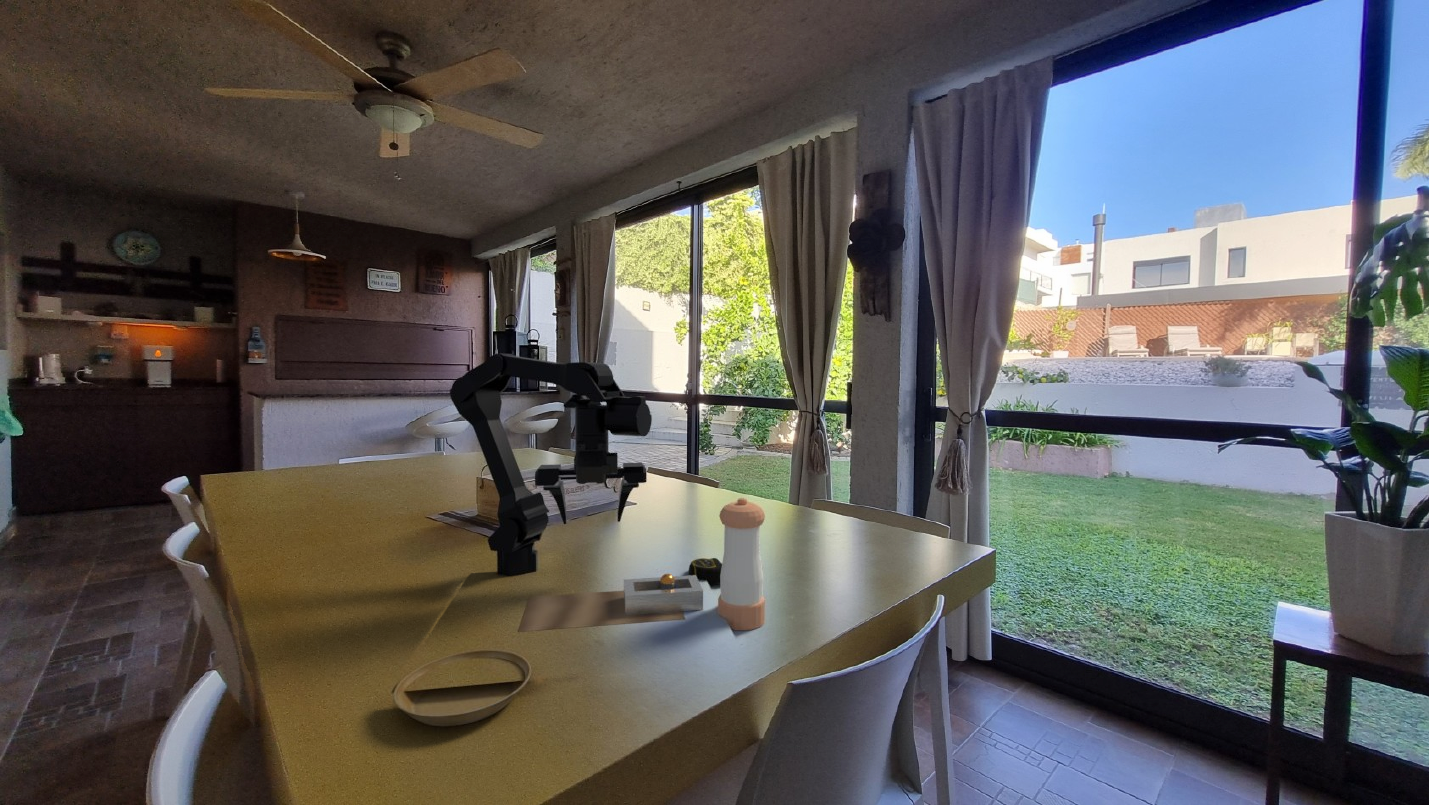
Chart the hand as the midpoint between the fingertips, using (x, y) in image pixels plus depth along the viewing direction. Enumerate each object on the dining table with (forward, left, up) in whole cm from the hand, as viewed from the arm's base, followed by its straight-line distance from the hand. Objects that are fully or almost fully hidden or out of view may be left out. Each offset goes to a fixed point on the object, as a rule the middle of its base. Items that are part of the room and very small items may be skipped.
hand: (592, 522), depth 101 cm
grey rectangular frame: (+11, -12, -10) cm, 19 cm away
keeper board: (+2, -12, -12) cm, 17 cm away
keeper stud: (+12, -12, -10) cm, 20 cm away
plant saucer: (-14, -32, -12) cm, 37 cm away
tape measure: (+21, +1, -12) cm, 25 cm away
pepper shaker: (+23, -17, -12) cm, 31 cm away
